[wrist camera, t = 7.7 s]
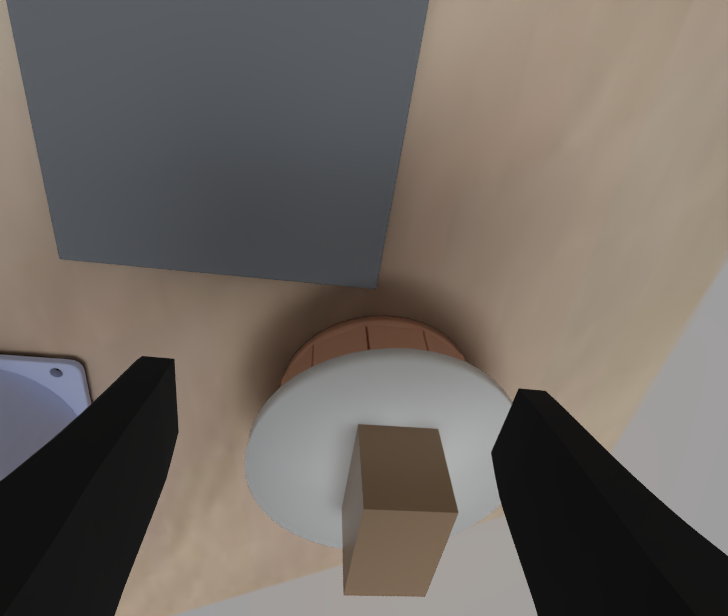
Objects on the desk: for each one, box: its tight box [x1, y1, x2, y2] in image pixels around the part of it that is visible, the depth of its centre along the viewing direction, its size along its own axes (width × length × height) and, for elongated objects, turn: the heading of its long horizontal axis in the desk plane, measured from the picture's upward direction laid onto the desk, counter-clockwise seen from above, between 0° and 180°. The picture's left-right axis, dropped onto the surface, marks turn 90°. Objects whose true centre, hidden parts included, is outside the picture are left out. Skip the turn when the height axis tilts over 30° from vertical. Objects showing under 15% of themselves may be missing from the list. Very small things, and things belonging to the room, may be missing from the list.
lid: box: [245, 348, 512, 597], centre depth 19 cm, size 11×11×4 cm
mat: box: [6, 0, 429, 289], centre depth 16 cm, size 12×12×1 cm
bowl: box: [280, 316, 466, 387], centre depth 22 cm, size 9×9×4 cm
